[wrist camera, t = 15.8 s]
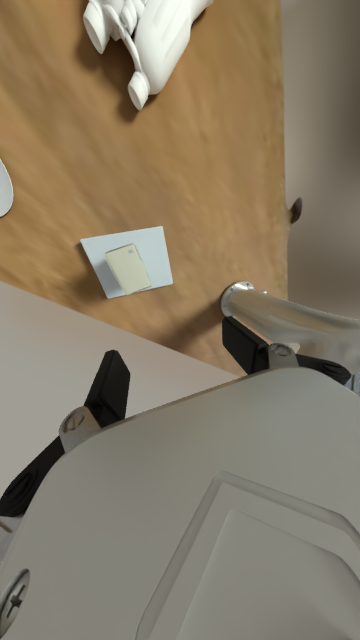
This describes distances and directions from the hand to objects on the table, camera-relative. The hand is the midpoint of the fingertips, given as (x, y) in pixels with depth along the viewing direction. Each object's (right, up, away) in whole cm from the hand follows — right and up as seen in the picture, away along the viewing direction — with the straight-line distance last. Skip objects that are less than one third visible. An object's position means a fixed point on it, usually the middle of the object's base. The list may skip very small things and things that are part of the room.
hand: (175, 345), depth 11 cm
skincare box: (-10, +15, +17) cm, 25 cm away
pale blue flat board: (-11, +16, +20) cm, 27 cm away
